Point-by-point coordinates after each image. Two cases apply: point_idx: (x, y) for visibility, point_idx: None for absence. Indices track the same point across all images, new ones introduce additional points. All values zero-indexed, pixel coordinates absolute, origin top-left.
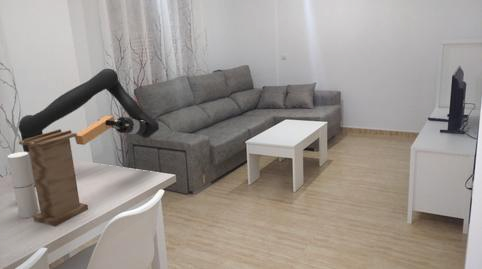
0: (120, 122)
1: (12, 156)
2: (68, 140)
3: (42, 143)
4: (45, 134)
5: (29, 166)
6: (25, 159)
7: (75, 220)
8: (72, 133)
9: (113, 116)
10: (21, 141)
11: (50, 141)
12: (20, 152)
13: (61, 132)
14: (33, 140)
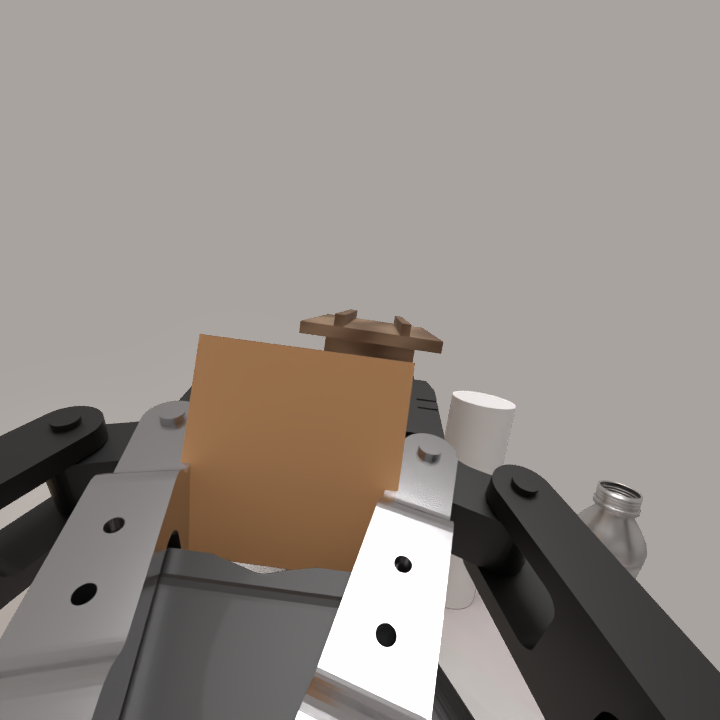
0: (11, 468)
1: (477, 394)
2: (325, 347)
3: (332, 315)
4: (397, 321)
5: (451, 441)
6: (450, 409)
7: (262, 569)
8: (319, 323)
9: (199, 342)
10: (417, 327)
11: (324, 315)
12: (505, 407)
13: (387, 332)
14: (390, 324)
